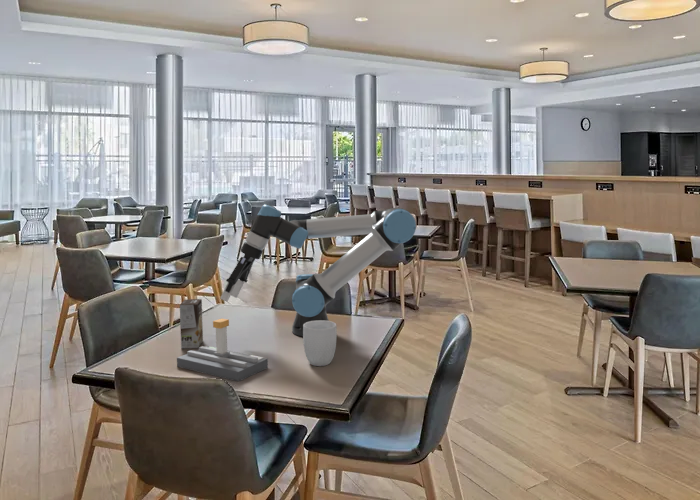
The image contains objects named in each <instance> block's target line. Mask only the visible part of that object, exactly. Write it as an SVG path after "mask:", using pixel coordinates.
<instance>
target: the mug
mask: <svg viewBox="0 0 700 500" xmlns="http://www.w3.org/2000/svg"><path fill="white" fill-rule="evenodd" d="M302 338H303V341H302V343H303V349H304V353H305V357H306V359H307V361H308V362H309V364H310V365H312V366H315V367H326V366H329V364H330V363H331V362H332V361H333V359H334V356H335V353H336V348H337V323H336V322H335V321H331V320H329V321H325V320H317V321H310V322H306V323H305V324H304V325H303V336H302Z"/></svg>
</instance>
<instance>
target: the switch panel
mask: <svg viewBox="0 0 700 500" xmlns="http://www.w3.org/2000/svg"><path fill="white" fill-rule="evenodd" d="M227 351H228V352H230V357H228V358H224V357H220V356H215V355H214V352H216V346H215V347H214V346H203V345H202V346H201V345H200V346H199V347H198V349H197V350H188V351H186V352H187V353H186V354H183V355H180V356H177V357H176V367H177V368H182V369H185V370H189V371H193V372H197V373H201V374H202V373H203V374H205V375H210V376H215V377H219V378H222V379H223V378H224V379H227V380H231V381H235V382H240V381H242V380H243V381H244V380H245V379H247V378H249V377H251V376H253V375H256V374H257V373H260V372H262V371H264V370H266V369H268V368H269V363H268V362H269V359H268V358H265V357H263V356H259V355H258V356H257V355H254V354H245V353H242V352H238V351H233V350H232V351H231V350H228V349H227Z"/></svg>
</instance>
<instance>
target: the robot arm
mask: <svg viewBox="0 0 700 500" xmlns="http://www.w3.org/2000/svg"><path fill="white" fill-rule="evenodd" d="M281 216H282V211H281V210H279V209H277V208H275V207H273V206H271V205H269V204H263V205H262V206H261V207H260V209H259V212H258V213H257V214H256V217H255V219H254V221H253V224H252V225H251V228H250V230H249V232H247V233H246V235H247V236H246V238H245V242H244V243H243V244H242V246H241V248H240V252H241V253H242V254H244V256H241V257H240V259H239V260H238V262H237V264H236V265H235V267H234V269H233V270H232V272H231V274H230V275H229V277H228V278H226V282H227V284H226V285H225V288H223V289H224V290H223V292H222V293H221V296H220V299H221V300H223V301H224V302H226V303H228V301H229V300H230V298H231V296H232V297H234V298H236V299H237V298H238V297H239V294H240V292H241V290H242V288H243V286H244V284H245V283H247V282H248V277H249V275H250V272H251V270H252V267H253V264H254V262H255V260H260V259H261V257H262V254H263V252H264V250H265V248H266V247H267V245H268V243H269V240H270V238H271V237H272V238H275V239H278V240H279V241H282V242H283V243H285V244H287V245H289V246H290V247H293V248H296V249H297V250H298V249H300V250H301V248H302V247H303V245H305V242H306V240H308V239H321V238H322V239H323V238H324V239H325V238H335V237H348V236H361V235H363V236H364V235H366V236H365V237H364V238H362V239H361V240H360V241H359V242H357V243H356V244H355V245H354V246H353V247H352V248H350V250H347V252H346V253H344V254H343V255H342V256H341V257H339V258H338V259H337V260H336V261H334V263H332V264H331V265H329V267H328V268H327V267H326V269H325V270H324V271H322V272H321V273H313V274H312V273H308V274H307V273H302V274H301V273H300V274H297V275H296V278H295V290H294V292H293V293H292V296H291V303H292V306H293V309H294V311H295V317H294V319H293V322H292V323H293V324H292V327H291V330H292V331H291V332H292V334H294V335H295V336H300V337H303V325H304V324H305V323H306V322H310V321H317V320H325V321H330V320H329V317H328V314H327V305H328V304H329V303H330V302H331V301H333V300H334V299H335V298H336V292H337V291H338V290H340V289H341V288H342V287H344V286H345V285H346V284H347V283H349V281H351V280H352V279H354V277H356V276H357V275H358V274H359V273H361V272H362V271H363V270H364V269H366V268H367V267H368V266H369V265H370V264H372V263H373V262H374V261H375V260H377V259H378V258H379V257H380V256H381V255H383V254H384V253H385V252H387V251H389V252H393V251H395V249H397V248H398V247H399V246H400V245H402V244H404V243H407V242H408V241H410V240H411V239H412V238H413V236H414V235H415V233H416V231H417V230H416V229H417V223H416V220H415V218H414V216H413V214H411V213H410V211H408V210H407V209H404V208H401V207H392V208H387V209H383V210H382V209H381V210H374V211H373V212H372V213H369V214H358V215H356V214H355V215H346V216H345V215H344V216H331V217H321V218H320V217H319V218H310V219H309V218H307V219H299V220H298V219H291V220H290V221H289V220H286V219H285V218H283V217H281Z"/></svg>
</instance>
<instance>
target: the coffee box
mask: <svg viewBox="0 0 700 500" xmlns="http://www.w3.org/2000/svg"><path fill="white" fill-rule="evenodd" d="M202 302H203V301H202V298H194V299H193V298H191V299H190V298H189V299H184V300H183V301H182V302H181V303H179V318H180V319H179V324H180V326H179V327H180V348H181V349H199V347H201V344H202V343H203V341H204V334H203V333H204V330H203V326H204V325H203V305H202V304H203V303H202Z"/></svg>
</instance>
